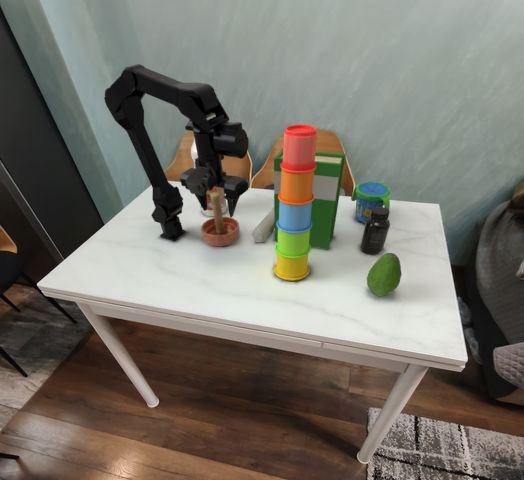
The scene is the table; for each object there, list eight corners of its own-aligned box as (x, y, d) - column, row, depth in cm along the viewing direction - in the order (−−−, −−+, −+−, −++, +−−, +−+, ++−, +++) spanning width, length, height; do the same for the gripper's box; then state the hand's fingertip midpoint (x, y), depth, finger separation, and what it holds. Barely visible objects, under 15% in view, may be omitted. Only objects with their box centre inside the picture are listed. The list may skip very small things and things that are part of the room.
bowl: (196, 241, 101) (193, 230, 98) (217, 224, 107) (215, 213, 104) (226, 251, 97) (225, 239, 93) (246, 232, 103) (245, 221, 100)
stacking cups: (268, 266, 91) (264, 127, 64) (299, 257, 93) (307, 119, 66) (283, 286, 85) (286, 141, 58) (315, 275, 87) (332, 132, 60)
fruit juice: (231, 211, 113) (220, 119, 91) (210, 219, 110) (193, 126, 88) (218, 202, 118) (205, 113, 96) (197, 210, 114) (178, 119, 93)
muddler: (216, 240, 100) (209, 198, 89) (213, 233, 102) (206, 192, 92) (229, 237, 100) (223, 196, 90) (226, 231, 103) (220, 190, 93)
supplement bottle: (386, 247, 94) (398, 209, 85) (375, 257, 91) (386, 219, 82) (367, 240, 97) (376, 202, 88) (355, 249, 94) (363, 211, 85)
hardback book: (333, 237, 99) (345, 154, 81) (328, 249, 95) (340, 164, 76) (281, 229, 103) (282, 148, 85) (274, 240, 99) (273, 158, 81)
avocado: (375, 306, 78) (388, 266, 69) (357, 288, 83) (367, 249, 74) (400, 296, 80) (417, 257, 71) (382, 279, 85) (394, 240, 75)
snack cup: (393, 225, 102) (402, 194, 94) (366, 233, 100) (374, 202, 92) (365, 205, 111) (372, 176, 103) (340, 212, 109) (345, 182, 101)
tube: (266, 235, 94) (295, 199, 108) (251, 227, 94) (282, 192, 108) (262, 248, 99) (291, 212, 112) (247, 240, 99) (278, 205, 113)
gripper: (158, 158, 74) (175, 219, 87) (221, 170, 68) (229, 234, 80) (187, 143, 80) (199, 202, 92) (247, 153, 74) (251, 215, 86)
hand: (218, 213), depth 88 cm, fingers open, 9 cm apart
